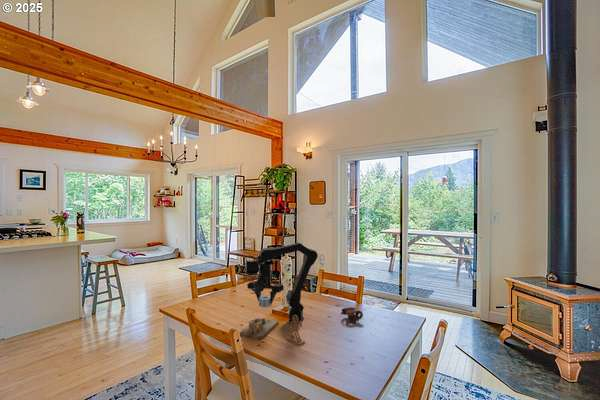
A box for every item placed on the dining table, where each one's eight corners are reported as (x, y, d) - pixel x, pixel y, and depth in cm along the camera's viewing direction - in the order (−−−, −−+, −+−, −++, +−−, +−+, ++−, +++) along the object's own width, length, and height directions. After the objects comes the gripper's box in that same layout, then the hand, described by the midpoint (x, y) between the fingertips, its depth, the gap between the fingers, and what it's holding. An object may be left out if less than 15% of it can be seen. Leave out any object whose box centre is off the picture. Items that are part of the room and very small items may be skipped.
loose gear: (273, 304, 151) (273, 296, 151) (267, 308, 145) (267, 300, 145) (262, 302, 154) (262, 294, 154) (256, 306, 147) (256, 298, 147)
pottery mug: (340, 325, 149) (338, 308, 153) (345, 326, 157) (342, 310, 161) (362, 322, 145) (359, 305, 150) (366, 323, 153) (363, 307, 157)
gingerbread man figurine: (285, 339, 133) (285, 313, 133) (291, 336, 135) (291, 311, 135) (299, 346, 126) (299, 319, 126) (305, 343, 129) (305, 316, 129)
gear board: (278, 324, 149) (278, 311, 149) (262, 339, 132) (262, 325, 132) (258, 320, 153) (258, 308, 153) (239, 335, 136) (239, 322, 137)
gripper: (241, 274, 145) (241, 305, 145) (274, 278, 138) (274, 310, 138) (253, 270, 156) (252, 298, 156) (284, 273, 149) (283, 303, 149)
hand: (265, 302), depth 149 cm, fingers closed on loose gear, 7 cm apart
